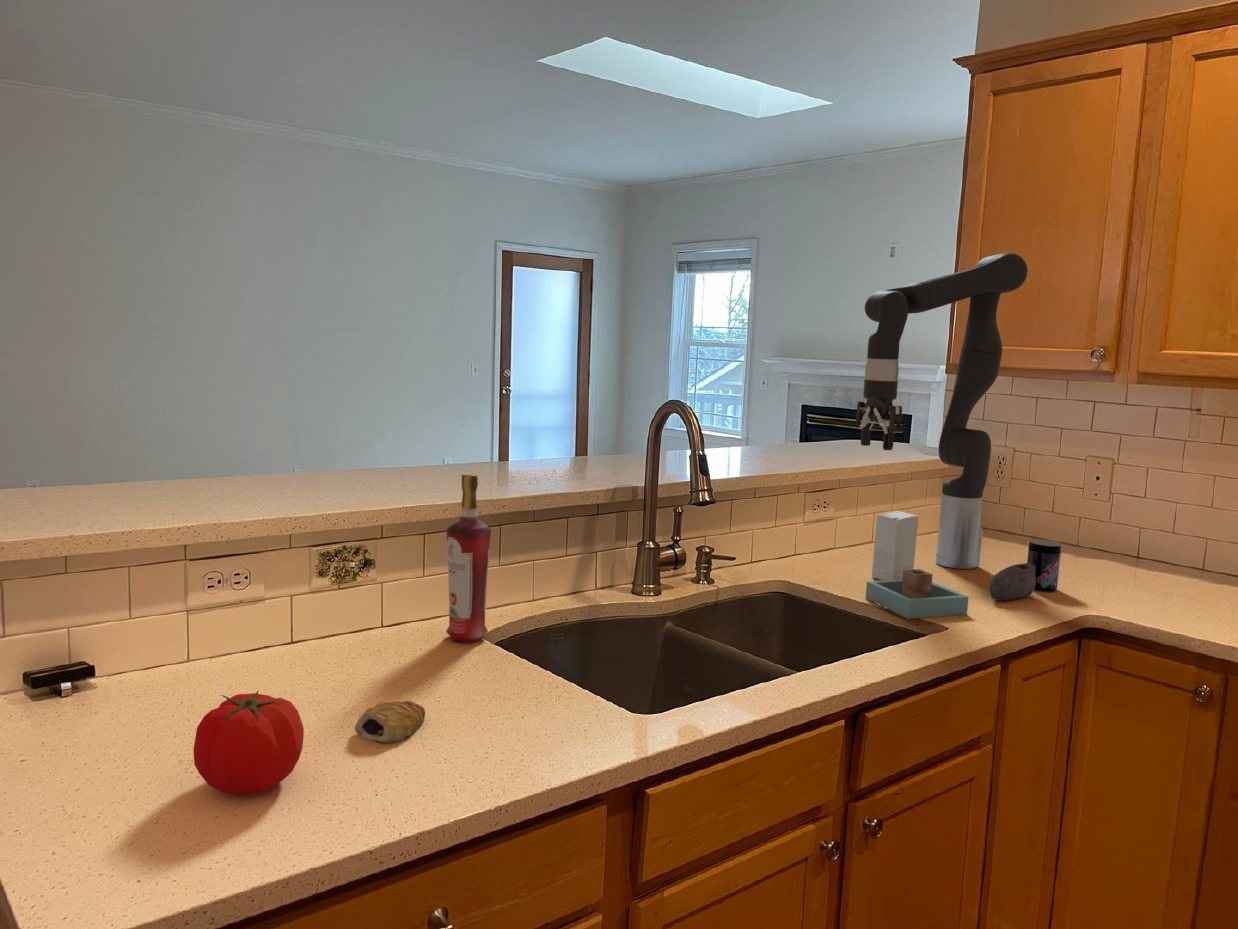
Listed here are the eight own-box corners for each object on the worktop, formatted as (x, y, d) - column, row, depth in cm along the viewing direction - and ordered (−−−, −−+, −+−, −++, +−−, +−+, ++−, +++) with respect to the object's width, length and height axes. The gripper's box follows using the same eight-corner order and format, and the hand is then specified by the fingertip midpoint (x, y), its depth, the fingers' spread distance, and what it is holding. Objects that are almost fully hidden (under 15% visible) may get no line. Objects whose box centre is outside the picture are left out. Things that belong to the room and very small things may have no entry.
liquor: (435, 637, 154) (438, 474, 150) (469, 628, 159) (472, 470, 155) (463, 648, 149) (466, 479, 145) (497, 638, 154) (501, 475, 151)
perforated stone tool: (1000, 606, 187) (1003, 573, 186) (977, 599, 192) (980, 567, 191) (1041, 597, 196) (1045, 565, 195) (1019, 591, 200) (1022, 560, 199)
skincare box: (891, 573, 211) (897, 510, 209) (914, 579, 206) (920, 514, 204) (870, 577, 206) (875, 513, 204) (893, 584, 201) (898, 518, 199)
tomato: (194, 769, 105) (191, 684, 104) (298, 754, 110) (297, 672, 109) (194, 820, 95) (192, 726, 93) (310, 800, 100) (309, 711, 98)
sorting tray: (921, 594, 193) (923, 578, 193) (966, 614, 180) (968, 596, 180) (865, 598, 188) (866, 581, 188) (907, 619, 175) (909, 600, 175)
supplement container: (1028, 591, 200) (1033, 544, 198) (1020, 583, 206) (1024, 538, 205) (1061, 593, 199) (1066, 547, 197) (1051, 585, 205) (1056, 540, 204)
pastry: (398, 711, 124) (398, 685, 124) (438, 722, 121) (439, 695, 121) (350, 737, 116) (350, 709, 115) (392, 750, 113) (392, 721, 112)
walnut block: (917, 600, 187) (920, 568, 186) (929, 605, 183) (932, 573, 182) (900, 601, 185) (903, 569, 185) (913, 606, 182) (915, 574, 181)
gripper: (914, 380, 206) (908, 451, 208) (876, 376, 219) (871, 443, 222) (886, 380, 203) (881, 452, 206) (849, 376, 217) (845, 444, 219)
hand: (876, 447), depth 214 cm, fingers open, 8 cm apart
